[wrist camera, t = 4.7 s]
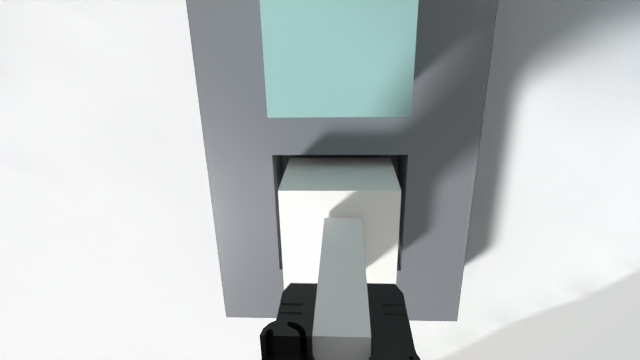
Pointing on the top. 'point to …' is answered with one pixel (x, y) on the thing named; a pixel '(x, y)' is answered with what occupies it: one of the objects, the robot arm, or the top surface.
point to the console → (343, 151)
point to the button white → (339, 213)
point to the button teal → (339, 57)
